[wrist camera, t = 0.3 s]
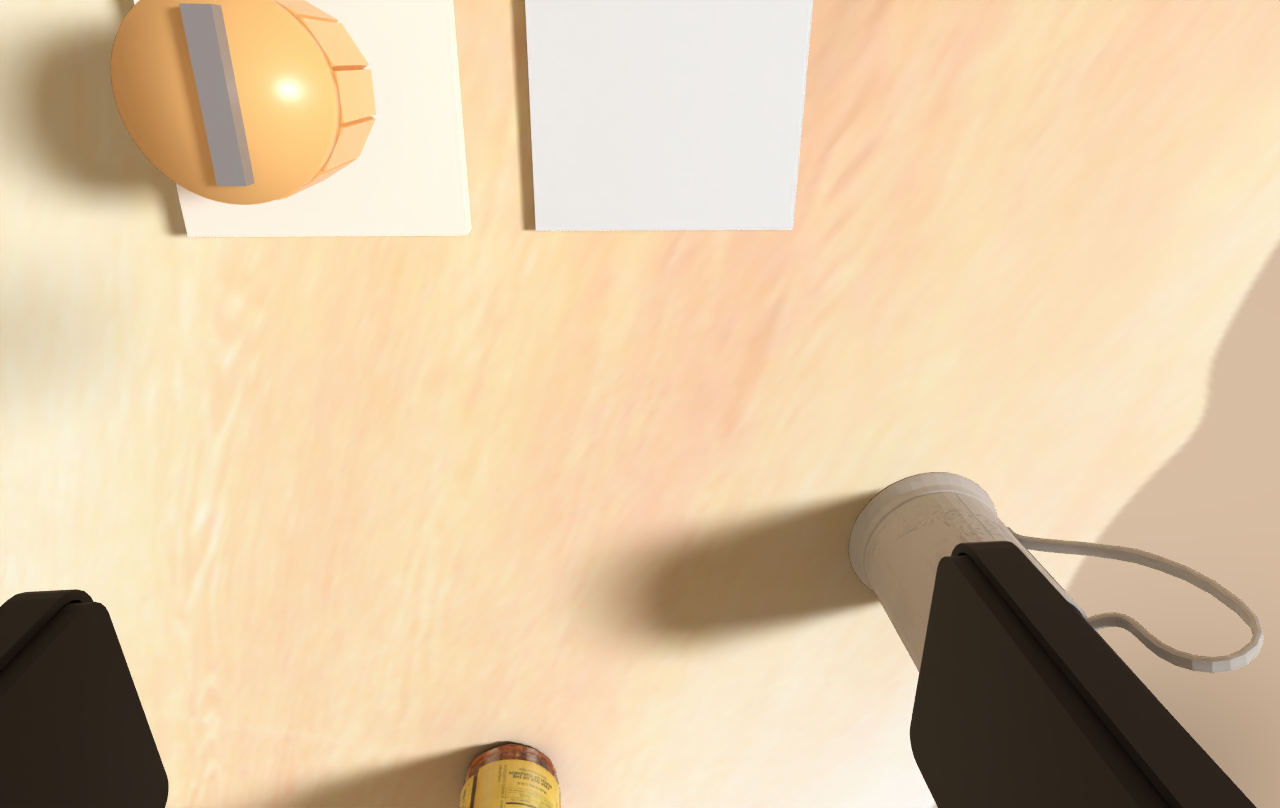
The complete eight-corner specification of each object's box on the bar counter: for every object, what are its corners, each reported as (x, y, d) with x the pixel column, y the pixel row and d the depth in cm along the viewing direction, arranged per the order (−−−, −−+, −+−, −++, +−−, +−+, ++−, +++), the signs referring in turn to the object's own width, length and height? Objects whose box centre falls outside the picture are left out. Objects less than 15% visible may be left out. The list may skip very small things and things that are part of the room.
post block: (134, -80, 30) (-20, -128, 22) (447, -73, 31) (402, -118, 23) (203, 230, 35) (96, 278, 27) (471, 228, 36) (441, 275, 28)
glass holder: (831, 505, 43) (946, 710, 30) (1078, 414, 42) (1317, 584, 28) (869, 618, 47) (988, 847, 33) (1098, 538, 46) (1319, 742, 32)
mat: (522, -72, 31) (521, -74, 31) (815, -66, 32) (819, -68, 31) (536, 228, 36) (535, 230, 35) (789, 227, 37) (792, 229, 36)
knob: (173, -9, 28) (69, -26, 22) (361, -6, 28) (306, -22, 22) (213, 181, 30) (130, 209, 25) (384, 181, 31) (340, 208, 25)
